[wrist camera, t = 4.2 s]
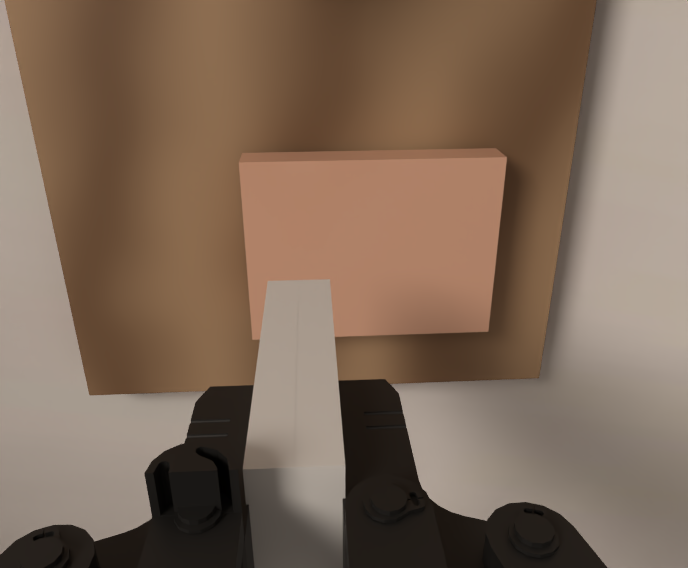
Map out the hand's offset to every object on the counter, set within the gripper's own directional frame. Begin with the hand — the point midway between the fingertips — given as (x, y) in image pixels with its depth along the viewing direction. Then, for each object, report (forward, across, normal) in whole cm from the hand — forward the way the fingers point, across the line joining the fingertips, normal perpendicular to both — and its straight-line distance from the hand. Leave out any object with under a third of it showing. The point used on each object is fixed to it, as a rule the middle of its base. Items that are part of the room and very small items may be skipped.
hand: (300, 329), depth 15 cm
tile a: (+5, -2, 0) cm, 5 cm away
